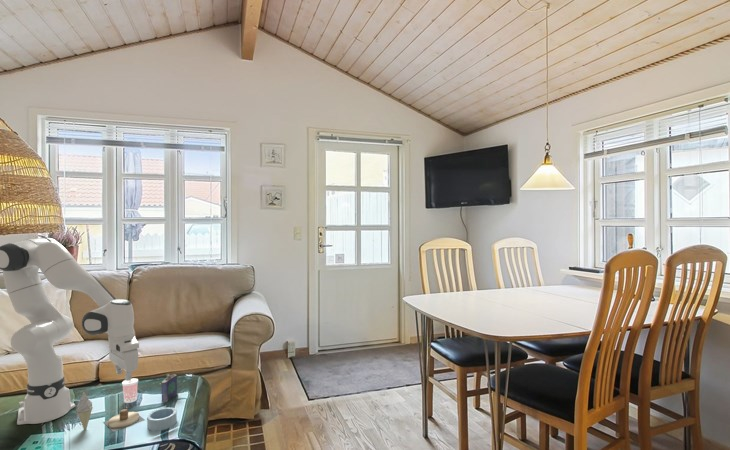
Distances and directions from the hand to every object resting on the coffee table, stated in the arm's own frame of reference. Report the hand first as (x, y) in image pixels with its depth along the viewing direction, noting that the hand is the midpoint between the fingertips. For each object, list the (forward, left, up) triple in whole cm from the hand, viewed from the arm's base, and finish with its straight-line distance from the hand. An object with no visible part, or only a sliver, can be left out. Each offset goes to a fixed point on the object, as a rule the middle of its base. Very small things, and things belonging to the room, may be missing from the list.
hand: (123, 376), depth 156 cm
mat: (0, 0, -18) cm, 18 cm away
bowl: (+14, +8, -18) cm, 24 cm away
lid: (0, 0, -17) cm, 17 cm away
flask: (-7, +20, -18) cm, 28 cm away
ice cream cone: (-5, -12, -18) cm, 22 cm away
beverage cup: (-17, +8, -18) cm, 26 cm away
